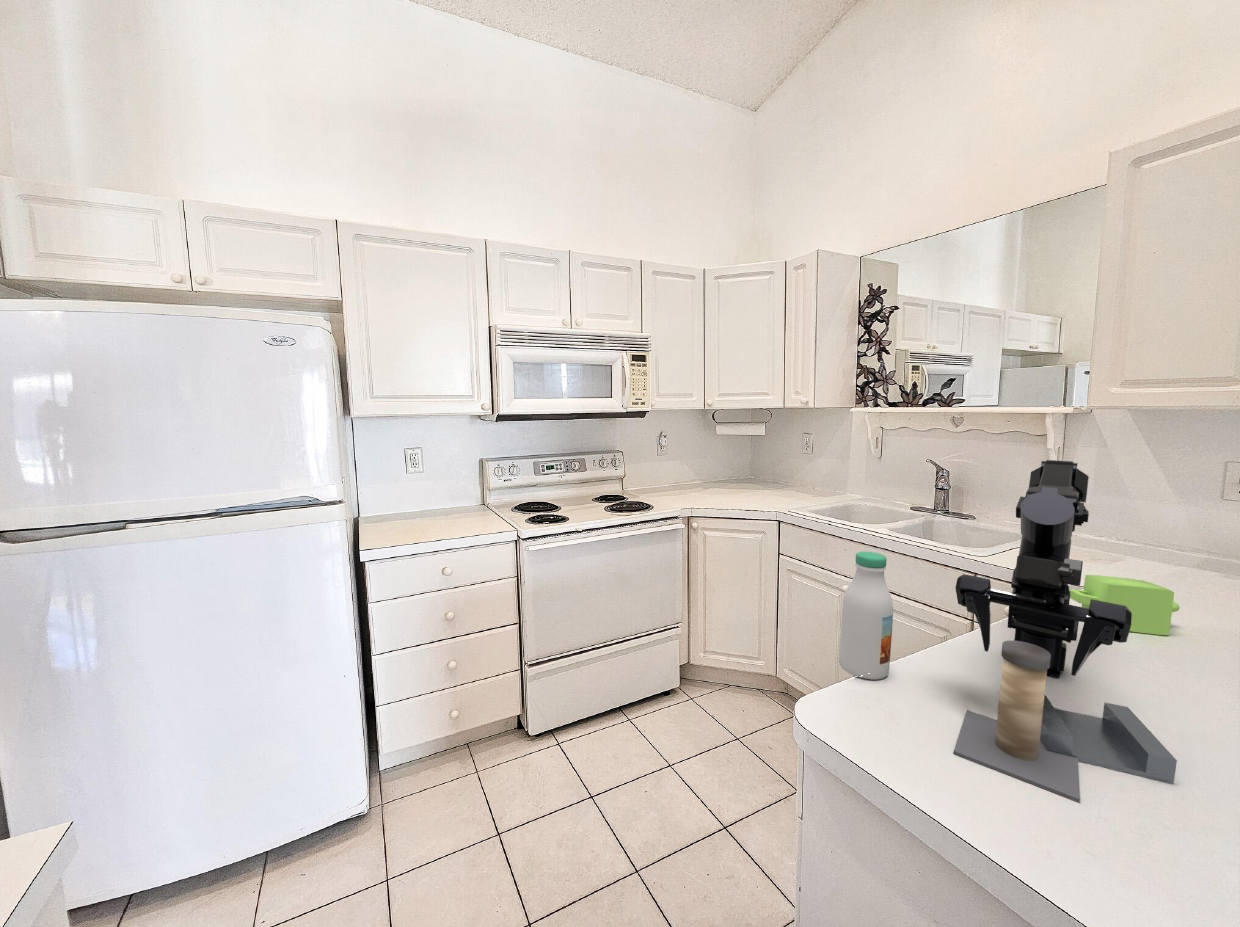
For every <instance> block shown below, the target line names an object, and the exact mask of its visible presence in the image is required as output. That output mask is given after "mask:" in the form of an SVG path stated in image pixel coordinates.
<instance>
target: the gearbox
mask: <svg viewBox="0 0 1240 927" xmlns="http://www.w3.org/2000/svg"><path fill="white" fill-rule="evenodd" d="M1084 575H1085V576H1084V583H1083V589H1073V588H1069V591H1070V600H1072V601H1074V602H1077V603H1078V604H1081V607H1083V608H1088V609H1089V606H1090V600H1091V599H1093V600H1098V601H1103V602H1108V603H1113V604H1118V605H1123V606H1126V607H1127V608H1128V609H1129V610H1130V611H1131V612H1132V619H1131V627H1130V631H1129V632H1133V633H1139V634H1140V633H1142V634H1150V635H1159V636H1169V635H1170V628H1171V623H1172V616H1173V613H1174V612H1175V613H1176V612H1178V611H1180V608H1181V606H1180V605H1179V604H1178V603H1177V602H1176V601H1174V597H1175V592H1174V591H1173V590H1171V589H1169V588H1167V587H1164V586H1161V585H1158V584H1155V583H1152V582H1149V581H1146V580H1143V579H1135V578H1125V577H1117V576H1108V575H1098V574H1097V575H1095V574H1084Z"/></svg>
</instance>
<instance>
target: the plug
mask: <svg viewBox="0 0 1240 927" xmlns="http://www.w3.org/2000/svg"><path fill="white" fill-rule="evenodd" d="M1000 652H1001V654H1000V656H1001V658H1002V663H1001V664H1002V665H1001V676H1000V683H999V684H1000V685H999V687H1000V688H999V697H998V707H997V716H996V720H997V726H996V737H995V744H996V746H997V747H998V748H999V749H1000V750H1002V751H1003V752H1005V753H1007V754H1008V755H1011V756H1013V757H1016V758H1019V759H1022V760H1036V759H1037V758H1038V753H1039V744H1040V734H1041V725H1042V715H1043V705H1044V696H1045V695H1046V684H1047V678H1048V677H1047V669H1049V668H1050V659H1051V654H1050V653H1049V652H1048V651H1047V650H1045V649H1044V648H1041V647H1039V646H1037V645H1034V644H1030V643H1026V642H1022V641H1014V639H1013V640H1011V639H1010V640H1005V641H1003V642H1002V643H1001V651H1000Z"/></svg>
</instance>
